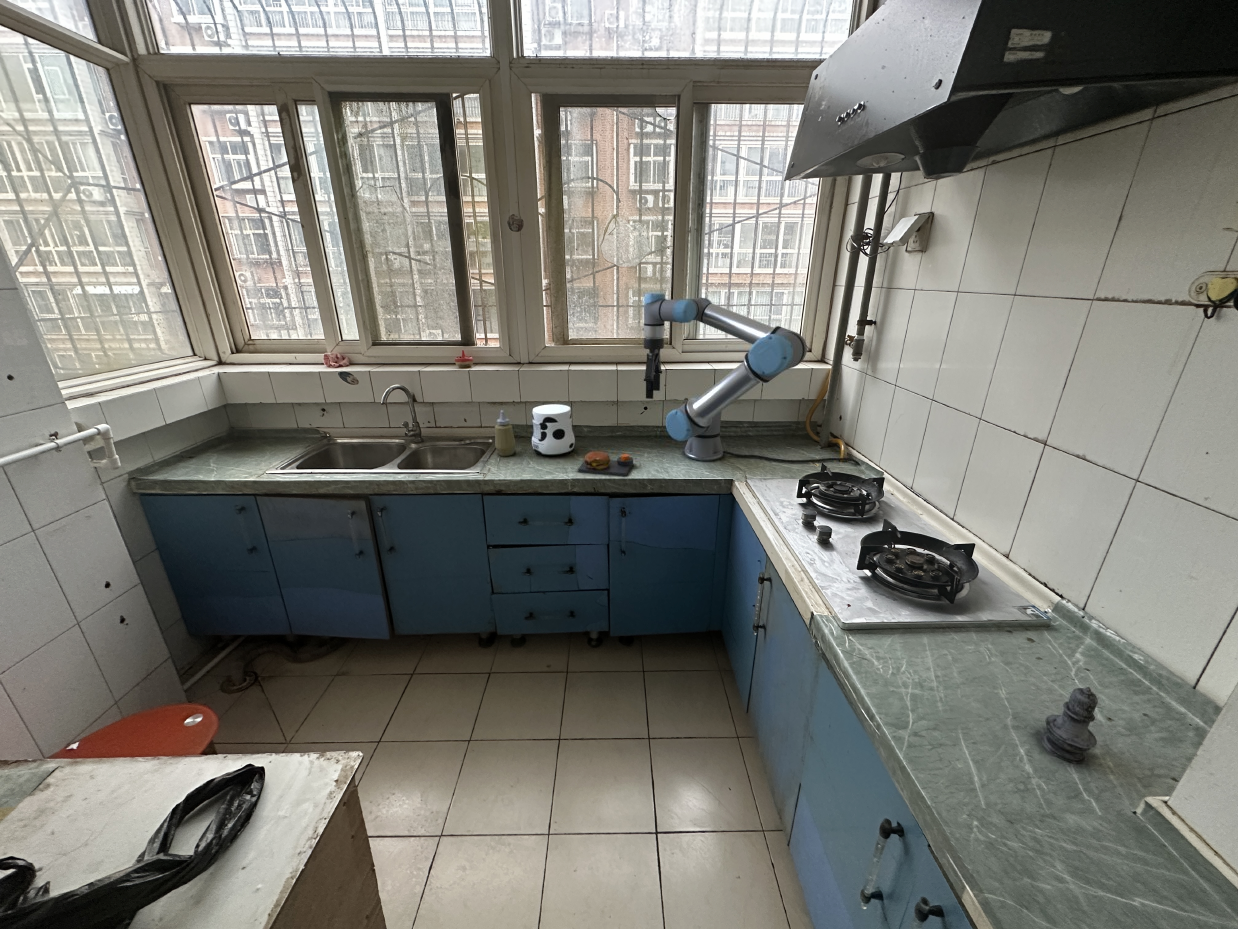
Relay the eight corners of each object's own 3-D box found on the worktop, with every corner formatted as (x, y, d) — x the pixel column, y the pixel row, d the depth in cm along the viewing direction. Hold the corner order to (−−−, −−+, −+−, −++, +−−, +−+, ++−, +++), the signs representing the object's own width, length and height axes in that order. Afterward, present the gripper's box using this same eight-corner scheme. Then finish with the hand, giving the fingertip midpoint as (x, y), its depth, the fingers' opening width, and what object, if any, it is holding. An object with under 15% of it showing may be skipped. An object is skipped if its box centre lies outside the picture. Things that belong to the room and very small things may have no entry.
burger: (604, 459, 192) (604, 447, 190) (614, 467, 184) (614, 455, 182) (580, 463, 188) (579, 451, 186) (589, 471, 180) (589, 459, 178)
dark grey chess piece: (1047, 758, 74) (1072, 696, 70) (1032, 726, 79) (1055, 667, 75) (1096, 771, 72) (1126, 708, 68) (1078, 738, 77) (1104, 677, 73)
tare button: (630, 458, 188) (630, 454, 187) (628, 461, 185) (628, 457, 185) (622, 458, 189) (622, 453, 188) (620, 460, 186) (620, 456, 185)
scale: (634, 464, 190) (634, 456, 189) (626, 476, 179) (626, 468, 178) (588, 460, 194) (588, 453, 193) (578, 472, 183) (577, 464, 182)
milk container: (579, 445, 211) (578, 404, 204) (568, 460, 195) (566, 415, 188) (540, 443, 214) (537, 402, 207) (526, 457, 198) (523, 413, 191)
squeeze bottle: (519, 454, 201) (515, 411, 195) (500, 458, 197) (496, 414, 190) (511, 449, 207) (507, 407, 201) (493, 453, 203) (488, 410, 197)
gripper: (650, 333, 195) (649, 387, 202) (636, 341, 172) (636, 401, 180) (669, 333, 193) (668, 387, 201) (657, 342, 170) (656, 402, 178)
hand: (653, 394), depth 190 cm, fingers open, 13 cm apart
